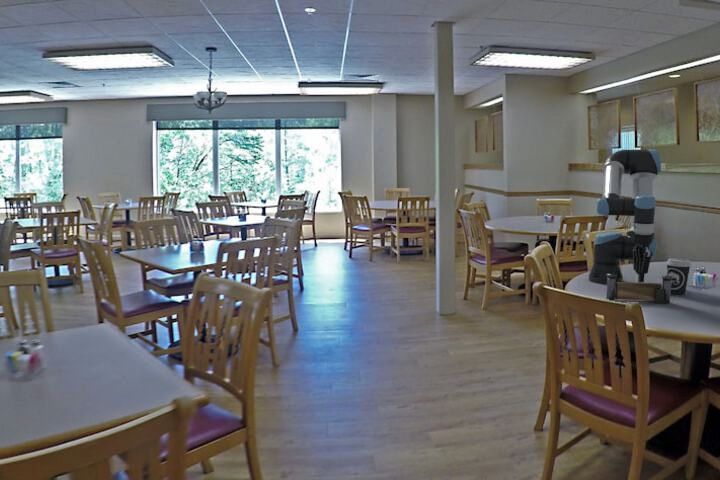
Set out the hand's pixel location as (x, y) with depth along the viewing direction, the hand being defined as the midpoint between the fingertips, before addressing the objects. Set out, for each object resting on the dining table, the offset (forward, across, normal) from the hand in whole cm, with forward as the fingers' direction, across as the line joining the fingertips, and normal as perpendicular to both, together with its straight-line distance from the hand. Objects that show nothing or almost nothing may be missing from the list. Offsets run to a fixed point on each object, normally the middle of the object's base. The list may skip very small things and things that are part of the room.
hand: (639, 288), depth 234 cm
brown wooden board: (+4, +5, -3) cm, 7 cm away
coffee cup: (+4, -6, +19) cm, 20 cm away
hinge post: (+4, +3, -13) cm, 14 cm away
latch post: (+4, +8, +6) cm, 11 cm away
